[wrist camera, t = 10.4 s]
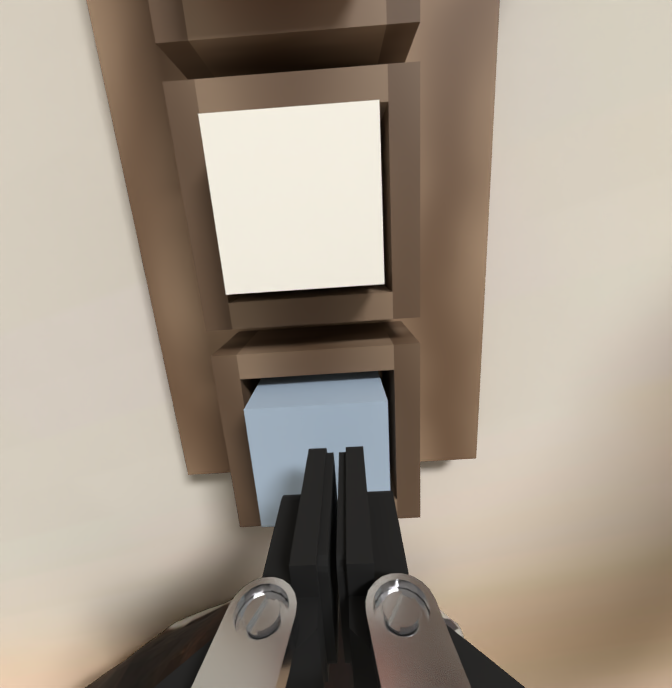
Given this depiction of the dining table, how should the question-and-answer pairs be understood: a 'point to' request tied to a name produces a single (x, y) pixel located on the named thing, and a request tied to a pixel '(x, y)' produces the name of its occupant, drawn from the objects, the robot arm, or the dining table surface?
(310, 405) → the slate key
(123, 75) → the keypad
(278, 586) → the robot arm
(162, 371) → the dining table surface
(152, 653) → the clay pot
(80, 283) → the dining table surface
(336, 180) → the ivory key
